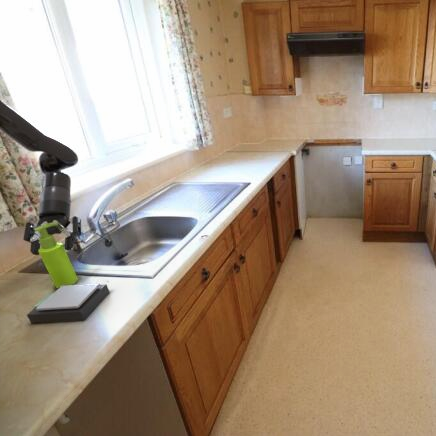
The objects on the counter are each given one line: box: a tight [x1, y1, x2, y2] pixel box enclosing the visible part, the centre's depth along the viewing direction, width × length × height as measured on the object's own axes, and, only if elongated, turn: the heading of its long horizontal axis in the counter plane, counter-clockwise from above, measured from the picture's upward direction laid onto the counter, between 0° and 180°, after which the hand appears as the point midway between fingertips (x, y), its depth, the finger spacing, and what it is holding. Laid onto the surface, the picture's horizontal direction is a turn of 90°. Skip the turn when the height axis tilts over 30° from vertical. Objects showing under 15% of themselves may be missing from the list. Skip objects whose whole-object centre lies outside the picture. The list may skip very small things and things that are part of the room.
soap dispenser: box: [34, 222, 79, 289], centre depth 99 cm, size 6×7×20 cm
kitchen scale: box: [26, 283, 110, 324], centre depth 91 cm, size 14×12×4 cm
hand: (52, 252), depth 97 cm, fingers open, 8 cm apart
